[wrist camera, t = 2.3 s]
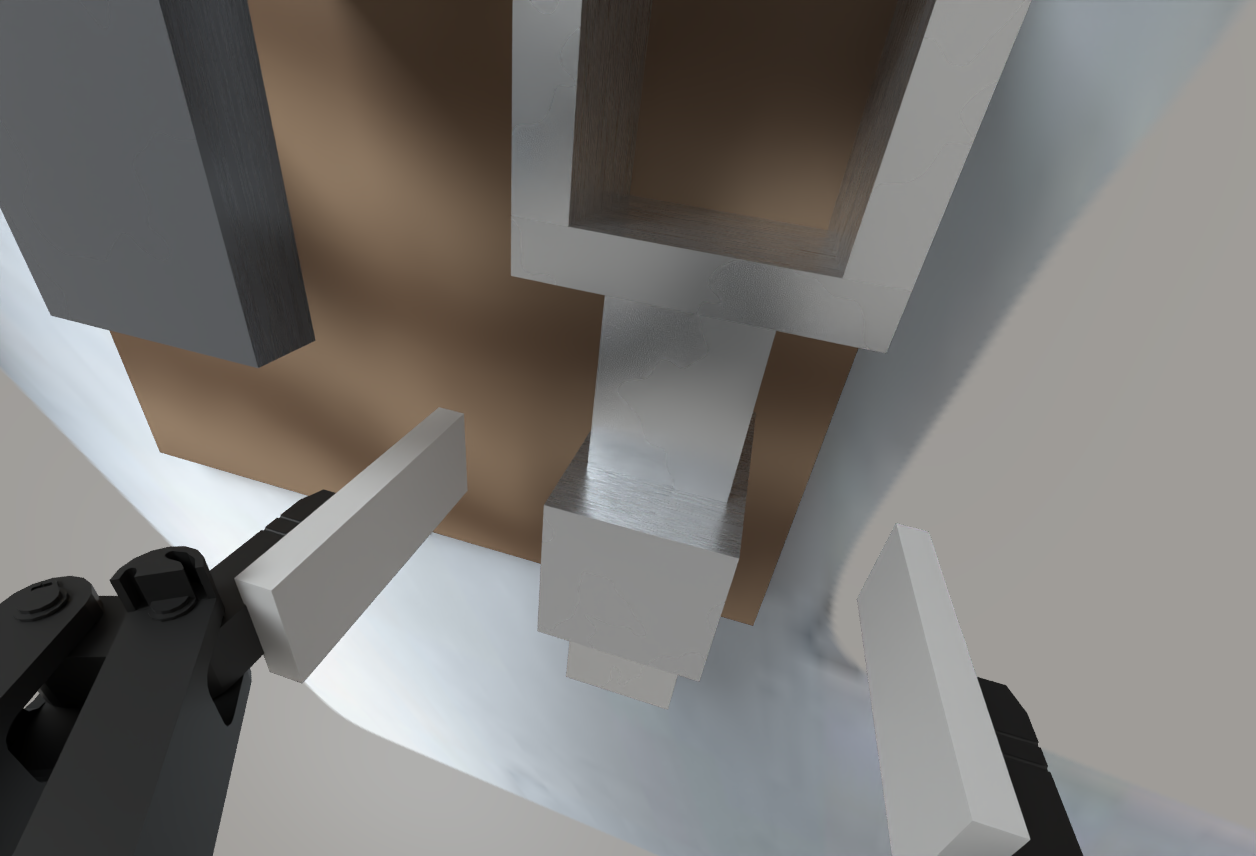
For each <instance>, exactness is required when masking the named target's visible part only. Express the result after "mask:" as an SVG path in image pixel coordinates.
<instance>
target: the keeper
mask: <svg viewBox="0 0 1256 856" xmlns="http://www.w3.org/2000/svg"><path fill="white" fill-rule="evenodd" d="M0 208H1V210H2V212H3V214H4V216H5V219H6V221H7V223H8V225H9V227H10V229H11V231H12V234H13V236H14V238H15V240H16V242H17V244H18V246H19V248H20V251H21V253H22V255H23V257H24V259H25V261H26V263H27V265H28V268H29V270H30V272H31V274H32V276H33V278H34V280H35V283H36V285H37V287H38V289H39V291H40V293H41V295H42V297H43V300H44V302H45V304H46V306H47V308H48V310H49V312H50V314H51V316H55V317H59V318H63V319H67V320H71V321H75V322H79V323H83V324H87V325H91V326H94V327H98V328H102V329H106V330H110V331H114V332H118V333H122V334H126V335H130V336H134V337H138V338H141V339H145V340H149V341H153V342H157V343H161V344H165V345H169V346H173V347H177V348H181V349H184V350H188V351H192V352H196V353H200V354H204V355H208V356H212V357H216V358H220V359H224V360H228V361H231V362H235V363H239V364H243V365H247V366H251V367H255V368H260V367H262V366H264V365H266V364H268V363H270V362H272V361H274V360H276V359H278V358H280V357H283V356H285V355H287V354H289V353H291V352H293V351H295V350H297V349H299V348H301V347H303V346H305V345H308V344H310V343H312V342H314V341H316V340H315V335H314V330H313V325H312V320H311V315H310V310H309V305H308V300H307V295H306V290H305V285H304V280H303V275H302V270H301V265H300V260H299V256H298V251H297V246H296V241H295V236H294V231H293V226H292V221H291V216H290V211H289V206H288V201H287V196H286V191H285V186H284V181H283V176H282V171H281V166H280V161H279V156H278V151H277V146H276V141H275V136H274V131H273V126H272V121H271V116H270V111H269V106H268V101H267V96H266V91H265V86H264V81H263V76H262V71H261V66H260V61H259V56H258V51H257V46H256V41H255V36H254V31H253V26H252V21H251V16H250V11H249V6H248V2H247V0H0Z"/></svg>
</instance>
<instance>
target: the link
mask: <svg viewBox="0 0 1256 856" xmlns="http://www.w3.org/2000/svg"><path fill="white" fill-rule="evenodd" d="M1031 1H1032V0H898V2H897V5H896V8H895V11H894V15H893V18H892V21H891V24H890V28H889V31H888V34H887V37H886V41H885V44H884V47H883V50H882V54H881V57H880V60H879V63H878V67H877V70H876V73H875V76H874V80H873V83H872V86H871V90H870V93H869V96H868V99H867V103H866V106H865V109H864V112H863V116H862V119H861V122H860V125H859V129H858V132H857V135H856V138H855V142H854V145H853V148H852V151H851V155H850V158H849V161H848V164H847V168H846V171H845V174H844V177H843V181H842V184H841V187H840V190H839V194H838V197H837V200H836V203H835V207H834V210H833V213H832V217H831V220H830V223H829V226H828V230H825V229H819V228H814V227H808V226H802V225H797V224H791V223H785V222H780V221H774V220H768V219H762V218H757V217H751V216H745V215H740V214H734V213H728V212H723V211H717V210H711V209H706V208H700V207H694V206H689V205H683V204H677V203H672V202H666V201H660V200H655V199H649V198H643V197H638V196H632V195H630V189H631V181H632V172H633V163H634V155H635V146H636V137H637V129H638V120H639V111H640V103H641V94H642V85H643V77H644V68H645V59H646V51H647V42H648V33H649V25H650V16H651V7H652V0H513V17H512V174H511V276H514V277H519V278H524V279H529V280H533V281H538V282H543V283H548V284H553V285H558V286H562V287H567V288H572V289H577V290H582V291H587V292H591V293H596V294H601V295H605V299H604V309H603V319H602V328H601V338H600V348H599V358H598V368H597V377H596V387H595V397H594V407H593V417H592V427H591V431H590V432H589V434H588V436H587V437H586V439H585V440H584V442H583V444H582V445H581V447H580V448H579V450H578V452H577V453H576V455H575V456H574V458H573V459H572V461H571V463H570V464H569V466H568V467H567V469H566V471H565V472H564V474H563V475H562V477H561V479H560V480H559V482H558V483H557V485H556V486H555V488H554V490H553V491H552V493H551V494H550V496H549V498H548V499H547V501H546V502H545V504H544V512H543V532H542V551H541V571H540V591H539V610H538V630H537V631H539V632H542V633H545V634H548V635H551V636H555V637H558V638H561V639H564V640H567V641H570V643H569V652H568V662H567V672H566V677H569V678H572V679H575V680H578V681H581V682H584V683H587V684H590V685H593V686H597V687H600V688H603V689H606V690H609V691H612V692H615V693H618V694H621V695H624V696H627V697H630V698H634V699H637V700H640V701H643V702H646V703H649V704H652V705H655V706H658V707H661V708H664V709H667V710H668V707H669V704H670V700H671V697H672V693H673V690H674V686H675V683H676V679H677V676H678V675H679V676H682V677H685V678H689V679H692V680H695V681H698V682H699V681H700V678H701V675H702V672H703V669H704V666H705V663H706V660H707V656H708V653H709V650H710V647H711V644H712V641H713V638H714V635H715V632H716V629H717V626H718V623H719V620H720V616H721V613H722V610H723V607H724V604H725V601H726V598H727V595H728V592H729V589H730V586H731V583H732V580H733V576H734V573H735V570H736V567H737V564H738V561H739V557H740V548H741V539H742V531H743V522H744V514H745V505H746V496H747V488H748V479H749V470H750V462H751V453H752V444H753V436H754V427H755V419H756V413H755V412H753V410H754V406H755V403H756V399H757V396H758V392H759V389H760V385H761V382H762V378H763V375H764V371H765V368H766V364H767V361H768V357H769V354H770V350H771V347H772V343H773V340H774V336H775V333H776V331H780V332H784V333H789V334H794V335H799V336H804V337H809V338H813V339H818V340H823V341H828V342H833V343H837V344H842V345H847V346H852V347H857V348H862V349H866V350H871V351H876V352H881V353H887V351H888V348H889V346H890V343H891V341H892V338H893V336H894V334H895V331H896V329H897V326H898V324H899V321H900V319H901V317H902V314H903V312H904V309H905V307H906V304H907V302H908V300H909V297H910V295H911V292H912V290H913V287H914V285H915V283H916V280H917V278H918V275H919V273H920V270H921V268H922V266H923V263H924V261H925V258H926V256H927V253H928V251H929V249H930V246H931V244H932V241H933V239H934V236H935V234H936V232H937V229H938V227H939V224H940V222H941V219H942V217H943V215H944V212H945V210H946V207H947V205H948V202H949V200H950V197H951V195H952V193H953V190H954V188H955V185H956V183H957V180H958V178H959V176H960V173H961V171H962V168H963V166H964V163H965V161H966V159H967V156H968V154H969V151H970V149H971V146H972V144H973V142H974V139H975V137H976V134H977V132H978V129H979V127H980V125H981V122H982V120H983V117H984V115H985V112H986V110H987V108H988V105H989V103H990V100H991V98H992V95H993V93H994V91H995V88H996V86H997V83H998V81H999V78H1000V76H1001V74H1002V71H1003V69H1004V66H1005V64H1006V61H1007V59H1008V57H1009V54H1010V52H1011V49H1012V47H1013V44H1014V42H1015V40H1016V37H1017V35H1018V32H1019V30H1020V27H1021V25H1022V23H1023V20H1024V18H1025V15H1026V13H1027V10H1028V8H1029V6H1030V3H1031Z"/></svg>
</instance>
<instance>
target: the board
mask: <svg viewBox="0 0 1256 856" xmlns="http://www.w3.org/2000/svg"><path fill="white" fill-rule="evenodd" d="M247 2H248V6H249V11H250V16H251V21H252V26H253V31H254V36H255V41H256V46H257V51H258V56H259V61H260V66H261V71H262V76H263V81H264V86H265V91H266V96H267V101H268V106H269V111H270V116H271V121H272V126H273V131H274V136H275V141H276V146H277V151H278V156H279V161H280V166H281V171H282V176H283V181H284V186H285V191H286V196H287V201H288V206H289V211H290V216H291V221H292V226H293V231H294V236H295V241H296V246H297V251H298V256H299V260H300V265H301V270H302V275H303V280H304V285H305V290H306V295H307V300H308V305H309V310H310V315H311V320H312V325H313V330H314V335H315V340H316V341H314V342H312V343H310V344H308V345H305V346H303V347H301V348H299V349H297V350H295V351H293V352H291V353H289V354H287V355H285V356H283V357H280V358H278V359H276V360H274V361H272V362H270V363H268V364H266V365H264V366H262V367H260V368H255V367H251V366H247V365H243V364H239V363H235V362H231V361H228V360H224V359H220V358H216V357H212V356H208V355H204V354H200V353H196V352H192V351H188V350H184V349H181V348H177V347H173V346H169V345H165V344H161V343H157V342H153V341H149V340H145V339H141V338H138V337H134V336H130V335H126V334H122V333H118V332H114V331H110V333H111V335H112V338H113V340H114V343H115V345H116V347H117V350H118V352H119V355H120V357H121V359H122V362H123V364H124V367H125V369H126V371H127V374H128V376H129V379H130V381H131V383H132V386H133V388H134V391H135V393H136V395H137V398H138V400H139V403H140V405H141V408H142V410H143V412H144V415H145V417H146V420H147V422H148V424H149V427H150V429H151V432H152V434H153V436H154V439H155V441H156V444H157V446H158V448H159V451H160V452H161V453H164V454H168V455H171V456H175V457H178V458H182V459H185V460H188V461H192V462H195V463H199V464H202V465H205V466H209V467H212V468H216V469H219V470H222V471H226V472H229V473H233V474H236V475H240V476H243V477H246V478H250V479H253V480H257V481H260V482H263V483H267V484H270V485H274V486H277V487H281V488H284V489H287V490H291V491H294V492H298V493H301V494H304V495H308V496H310V495H312V494H314V493H316V492H319V491H321V490H323V489H324V490H328V491H331V492H335V493H337V492H338V491H339V490H341V489H342V488H343V487H344V486H345V485H346V484H348V483H349V482H350V481H351V480H352V479H354V478H355V477H356V476H357V475H358V474H360V473H361V472H362V471H363V470H364V469H366V468H367V467H368V466H369V465H370V464H372V463H373V462H374V461H375V460H376V459H378V458H379V457H380V456H381V455H382V454H384V453H385V452H386V451H387V450H388V449H390V448H391V447H392V446H393V445H394V444H396V443H397V442H398V441H399V440H400V439H402V438H403V437H404V436H405V435H406V434H408V433H409V432H410V431H411V430H412V429H414V428H415V427H416V426H417V425H418V424H419V423H421V422H422V421H423V420H424V419H425V418H427V417H428V416H429V415H430V414H431V413H433V412H434V411H435V410H436V409H437V408H439V407H440V408H444V409H448V410H452V411H456V412H460V413H464V425H465V447H466V469H467V490H468V491H467V492H466V493H465V494H464V495H463V497H462V498H461V499H460V500H459V501H458V502H457V504H456V505H455V506H454V507H453V508H452V509H451V511H450V512H449V513H448V514H447V515H446V516H445V518H444V519H443V520H442V521H441V522H440V524H439V525H438V526H437V527H436V528H435V529H434V531H433V532H434V533H438V534H441V535H445V536H448V537H451V538H455V539H458V540H462V541H465V542H468V543H472V544H475V545H479V546H482V547H485V548H489V549H492V550H496V551H499V552H503V553H506V554H509V555H513V556H516V557H520V558H523V559H526V560H530V561H533V562H537V563H540V564H541V551H542V532H543V512H544V504H545V502H546V501H547V499H548V498H549V496H550V494H551V493H552V491H553V490H554V488H555V486H556V485H557V483H558V482H559V480H560V479H561V477H562V475H563V474H564V472H565V471H566V469H567V467H568V466H569V464H570V463H571V461H572V459H573V458H574V456H575V455H576V453H577V452H578V450H579V448H580V447H581V445H582V444H583V442H584V440H585V439H586V437H587V436H588V434H589V432H590V431H591V427H592V417H593V407H594V397H595V387H596V377H597V368H598V358H599V348H600V338H601V328H602V319H603V309H604V299H605V295H601V294H596V293H591V292H587V291H582V290H577V289H572V288H567V287H562V286H558V285H553V284H548V283H543V282H538V281H533V280H529V279H524V278H519V277H514V276H511V174H512V17H513V0H247ZM897 2H898V0H652V7H651V16H650V25H649V33H648V42H647V51H646V59H645V68H644V77H643V85H642V94H641V103H640V111H639V120H638V129H637V137H636V146H635V155H634V163H633V172H632V181H631V189H630V195H632V196H638V197H643V198H649V199H655V200H660V201H666V202H672V203H677V204H683V205H689V206H694V207H700V208H706V209H711V210H717V211H723V212H728V213H734V214H740V215H745V216H751V217H757V218H762V219H768V220H774V221H780V222H785V223H791V224H797V225H802V226H808V227H814V228H819V229H825V230H828V226H829V223H830V220H831V217H832V213H833V210H834V207H835V203H836V200H837V197H838V194H839V190H840V187H841V184H842V181H843V177H844V174H845V171H846V168H847V164H848V161H849V158H850V155H851V151H852V148H853V145H854V142H855V138H856V135H857V132H858V129H859V125H860V122H861V119H862V116H863V112H864V109H865V106H866V103H867V99H868V96H869V93H870V90H871V86H872V83H873V80H874V76H875V73H876V70H877V67H878V63H879V60H880V57H881V54H882V50H883V47H884V44H885V41H886V37H887V34H888V31H889V28H890V24H891V21H892V18H893V15H894V11H895V8H896V5H897ZM857 350H858V348H857V347H852V346H847V345H842V344H837V343H833V342H828V341H823V340H818V339H813V338H809V337H804V336H799V335H794V334H789V333H784V332H780V331H776V333H775V336H774V340H773V343H772V347H771V350H770V354H769V357H768V361H767V364H766V368H765V371H764V375H763V378H762V382H761V385H760V389H759V392H758V396H757V399H756V403H755V406H754V410H753V412H755V413H756V419H755V427H754V436H753V444H752V453H751V462H750V470H749V479H748V488H747V496H746V505H745V514H744V522H743V531H742V539H741V548H740V557H739V561H738V564H737V567H736V570H735V573H734V576H733V580H732V583H731V586H730V589H729V592H728V595H727V598H726V601H725V604H724V607H723V610H722V613H721V617H725V618H728V619H731V620H735V621H738V622H742V623H745V624H749V625H752V626H753V625H754V622H755V619H756V617H757V614H758V611H759V609H760V606H761V604H762V601H763V598H764V596H765V593H766V590H767V588H768V585H769V582H770V580H771V577H772V575H773V572H774V569H775V567H776V564H777V561H778V559H779V556H780V553H781V551H782V548H783V546H784V543H785V540H786V538H787V535H788V532H789V530H790V527H791V524H792V522H793V519H794V517H795V514H796V511H797V509H798V506H799V503H800V501H801V498H802V495H803V493H804V490H805V488H806V485H807V482H808V480H809V477H810V474H811V472H812V469H813V466H814V464H815V461H816V459H817V456H818V453H819V451H820V448H821V445H822V443H823V440H824V437H825V435H826V432H827V430H828V427H829V424H830V422H831V419H832V416H833V414H834V411H835V408H836V406H837V403H838V401H839V398H840V395H841V393H842V390H843V387H844V385H845V382H846V379H847V377H848V374H849V372H850V369H851V366H852V364H853V361H854V358H855V356H856V353H857Z"/></svg>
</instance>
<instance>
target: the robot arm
mask: <svg viewBox="0 0 1256 856" xmlns="http://www.w3.org/2000/svg"><path fill="white" fill-rule="evenodd" d="M467 491H468V490H467V469H466V447H465V425H464V413H460V412H456V411H452V410H448V409H444V408H440V407H439V408H437V409H436V410H435V411H434V412H433V413H431V414H430V415H429V416H428V417H427V418H425V419H424V420H423V421H422V422H421V423H419V424H418V425H417V426H416V427H415V428H414V429H412V430H411V431H410V432H409V433H408V434H406V435H405V436H404V437H403V438H402V439H400V440H399V441H398V442H397V443H396V444H394V445H393V446H392V447H391V448H390V449H388V450H387V451H386V452H385V453H384V454H382V455H381V456H380V457H379V458H378V459H376V460H375V461H374V462H373V463H372V464H370V465H369V466H368V467H367V468H366V469H364V470H363V471H362V472H361V473H360V474H358V475H357V476H356V477H355V478H354V479H352V480H351V481H350V482H349V483H348V484H346V485H345V486H344V487H343V488H342V489H341V490H339V491H338V492H337V493H335V492H331V491H328V490H324V489H323V490H321V491H319V492H316V493H314V494H312V495H310V496H308V497H305V498H303V499H301V500H299V501H298V502H296V503H295V504H294V505H293V506H291V507H290V508H289V509H288V510H286V511H285V512H284V513H283V514H281V517H280V518H276V519H275V520H274V521H272V522H271V523H270V524H269V525H267V526H266V527H265V530H264V531H263V530H261V531H260V532H258V533H257V534H256V535H255V536H253V537H252V538H251V539H250V540H248V541H247V542H246V543H244V544H243V545H242V546H241V547H239V548H238V549H237V550H236V551H234V552H233V553H232V554H230V555H229V556H228V557H227V558H225V559H224V560H223V561H222V562H220V563H219V564H218V565H216V566H215V567H214V568H213V569H211V570H210V571H209V568H208V566H207V564H206V561H205V559H204V557H203V556H202V554H201V553H200V552H199V551H198V550H196V549H193V548H189V547H186V546H178V547H166V548H162V549H158V550H153V551H150V552H148V553H146V554H143V555H141V556H139V557H136V558H134V559H133V560H131V561H130V562H128V563H127V564H125V565H124V566H123V567H121V568H120V569H119V570H118V571H117V572H116V573H115V574H114V576H113V577H112V578H111V579H110V582H111V584H112V586H113V587H114V589H115V591H116V593H117V595H118V596H98V595H97V593H96V591H95V589H94V588H93V586H92V584H91V583H90V582H88V581H87V580H86V579H84V578H80V577H74V576H66V577H58V578H51V579H48V580H45V581H41V582H38V583H35V584H32V585H30V586H28V587H26V588H24V589H22V590H20V591H18V592H16V593H14V594H13V595H11V596H10V597H9V598H8V599H6V600H5V601H3V602H2V603H1V604H0V856H213V852H214V847H215V842H216V838H217V833H218V829H219V825H220V821H221V816H222V811H223V807H224V802H225V798H226V794H227V789H228V784H229V780H230V776H231V771H232V766H233V762H234V758H235V753H236V749H237V744H238V739H239V735H240V731H241V726H242V722H243V716H244V713H245V708H246V703H247V699H248V695H249V690H250V685H251V670H250V667H251V666H252V665H253V664H254V663H255V662H256V661H257V660H258V659H259V658H260V657H261V656H262V655H264V658H265V660H266V663H267V665H268V668H269V671H270V672H272V673H274V674H277V675H280V676H283V677H286V678H288V679H291V680H294V681H297V682H300V683H303V682H304V681H305V680H306V679H307V678H308V676H309V675H310V674H311V673H312V672H313V671H314V669H315V668H316V667H317V666H318V665H319V664H320V662H321V661H322V660H323V659H324V658H325V657H326V655H327V654H328V653H329V652H330V651H331V650H332V648H333V647H334V646H335V645H336V644H337V643H338V641H339V640H340V639H341V638H342V637H343V636H344V634H345V633H346V632H347V631H348V630H349V629H350V627H351V626H352V625H353V624H354V623H355V622H356V620H357V619H358V618H359V617H360V616H361V615H362V613H363V612H364V611H365V610H366V609H367V608H368V606H369V605H370V604H371V603H372V602H373V601H374V599H375V598H376V597H377V596H378V595H379V594H380V592H381V591H382V590H383V589H384V588H385V587H386V585H387V584H388V583H389V582H390V581H391V580H392V578H393V577H394V576H395V575H396V574H397V573H398V571H399V570H400V569H401V568H402V567H403V566H404V564H405V563H406V562H407V561H408V560H409V559H410V557H411V556H412V555H413V554H414V553H415V552H416V550H417V549H418V548H419V547H420V546H421V545H422V543H423V542H424V541H425V540H426V539H427V538H428V536H429V535H430V534H431V533H432V532H433V531H434V529H435V528H436V527H437V526H438V525H439V524H440V522H441V521H442V520H443V519H444V518H445V516H446V515H447V514H448V513H449V512H450V511H451V509H452V508H453V507H454V506H455V505H456V504H457V502H458V501H459V500H460V499H461V498H462V497H463V495H464V494H465V493H466V492H467ZM857 602H858V609H859V617H860V624H861V631H862V638H863V646H864V653H865V661H866V668H867V675H868V683H869V690H870V697H871V705H872V712H873V720H874V727H875V734H876V742H877V749H878V756H879V764H880V771H881V778H882V786H883V793H884V800H885V808H886V815H887V822H888V830H889V837H890V844H891V852H892V856H1083V854H1082V851H1081V849H1080V846H1079V844H1078V841H1077V839H1076V836H1075V834H1074V831H1073V828H1072V826H1071V823H1070V821H1069V818H1068V816H1067V813H1066V811H1065V808H1064V806H1063V803H1062V801H1061V798H1060V795H1059V793H1058V790H1057V788H1056V785H1055V783H1054V780H1053V778H1052V775H1051V773H1050V772H1048V771H1047V767H1048V765H1047V762H1046V760H1045V757H1044V755H1043V752H1042V750H1041V748H1040V747H1038V740H1037V737H1036V735H1035V732H1034V729H1033V727H1032V724H1031V722H1030V719H1029V717H1028V714H1027V712H1026V711H1025V710H1024V709H1023V707H1022V706H1021V705H1020V704H1019V702H1018V701H1017V699H1016V698H1015V696H1014V695H1013V694H1012V693H1011V691H1010V690H1009V689H1008V687H1007V686H1006V685H1003V684H1000V683H996V682H993V681H989V680H986V679H982V678H979V677H977V676H976V673H975V670H974V667H973V664H972V661H971V658H970V655H969V652H968V649H967V646H966V643H965V640H964V637H963V633H962V631H961V627H960V625H959V621H958V618H957V615H956V612H955V609H954V606H953V603H952V600H951V597H950V594H949V591H948V588H947V585H946V582H945V579H944V576H943V573H942V570H941V567H940V564H939V561H938V558H937V555H936V552H935V549H934V546H933V543H932V539H931V537H930V533H929V531H926V530H922V529H918V528H914V527H910V526H906V525H902V524H898V523H896V524H895V526H894V528H893V530H892V532H891V534H890V536H889V538H888V540H887V542H886V544H885V546H884V548H883V549H882V551H881V553H880V555H879V557H878V559H877V561H876V563H875V565H874V567H873V569H872V571H871V573H870V575H869V577H868V578H867V580H866V582H865V584H864V586H863V588H862V590H861V592H860V594H859V596H858V598H857ZM37 691H38V692H39V693H40V694H39V695H38V696H37V697H36V698H35V700H34V701H33V702H31V703H30V704H29V705H28V706H27V707H26V708H25V709H23V708H24V706H25V705H26V704H27V703H28V702H29V701H30V699H31V698H32V697H33V696H34V695H35V693H36V692H37Z"/></svg>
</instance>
